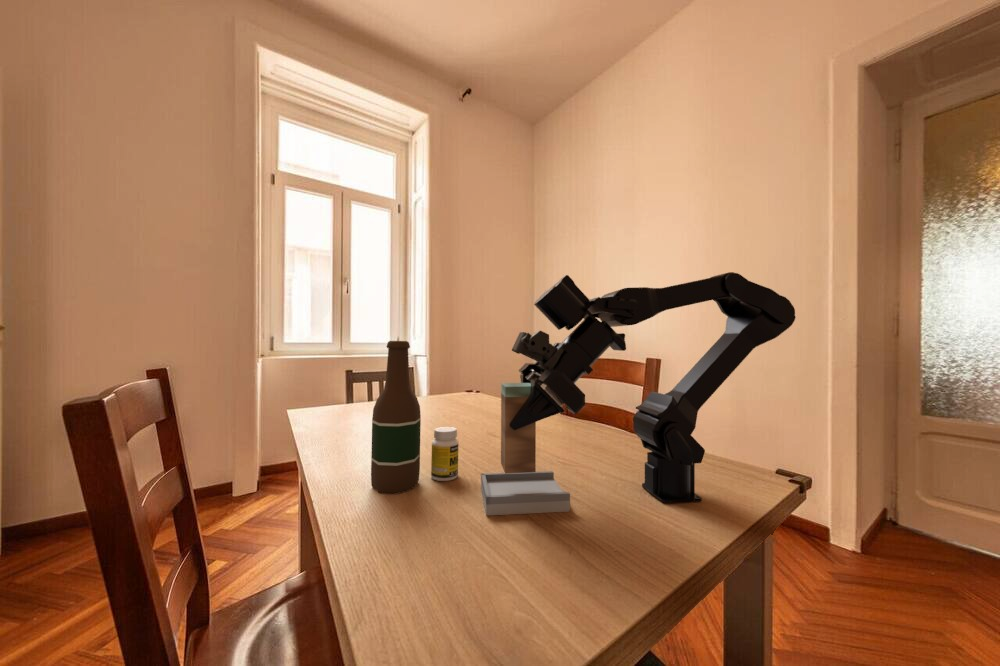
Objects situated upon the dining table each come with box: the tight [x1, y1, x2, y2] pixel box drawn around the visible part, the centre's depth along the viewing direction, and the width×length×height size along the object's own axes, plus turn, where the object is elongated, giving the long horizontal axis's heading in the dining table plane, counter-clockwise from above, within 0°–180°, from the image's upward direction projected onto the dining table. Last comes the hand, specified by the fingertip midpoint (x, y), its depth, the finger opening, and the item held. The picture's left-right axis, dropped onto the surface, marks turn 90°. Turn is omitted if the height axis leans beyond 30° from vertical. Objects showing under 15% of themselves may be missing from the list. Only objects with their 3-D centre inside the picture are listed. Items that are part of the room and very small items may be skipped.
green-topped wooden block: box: [500, 382, 537, 474], centre depth 54 cm, size 4×4×12 cm
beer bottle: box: [370, 340, 422, 495], centre depth 60 cm, size 8×8×24 cm
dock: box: [480, 470, 571, 516], centre depth 55 cm, size 12×9×2 cm
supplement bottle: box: [430, 426, 460, 482], centre depth 64 cm, size 5×5×8 cm
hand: (509, 424), depth 54 cm, fingers closed on green-topped wooden block, 4 cm apart
